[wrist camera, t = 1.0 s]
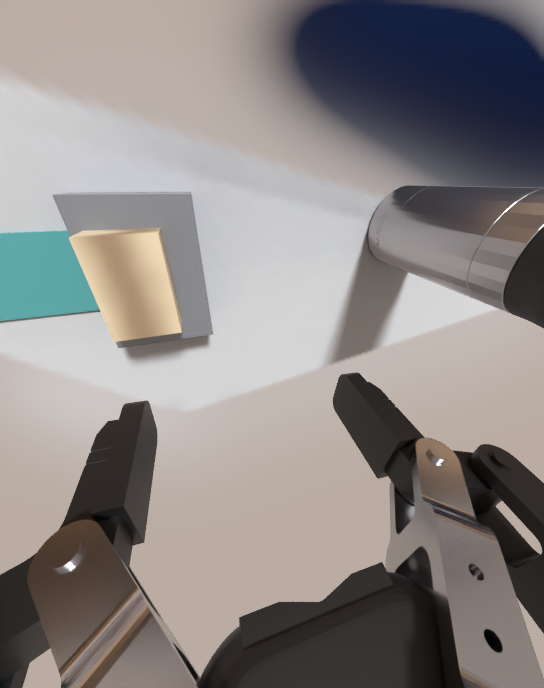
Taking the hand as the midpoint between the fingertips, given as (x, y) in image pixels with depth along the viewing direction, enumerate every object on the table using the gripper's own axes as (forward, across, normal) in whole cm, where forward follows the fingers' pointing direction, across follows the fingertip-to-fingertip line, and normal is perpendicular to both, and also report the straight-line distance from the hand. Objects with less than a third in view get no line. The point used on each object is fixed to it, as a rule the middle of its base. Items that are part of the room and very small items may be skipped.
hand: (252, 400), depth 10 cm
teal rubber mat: (+22, +17, +1) cm, 28 cm away
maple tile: (+16, +7, +1) cm, 18 cm away
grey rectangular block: (+22, +6, +1) cm, 23 cm away
